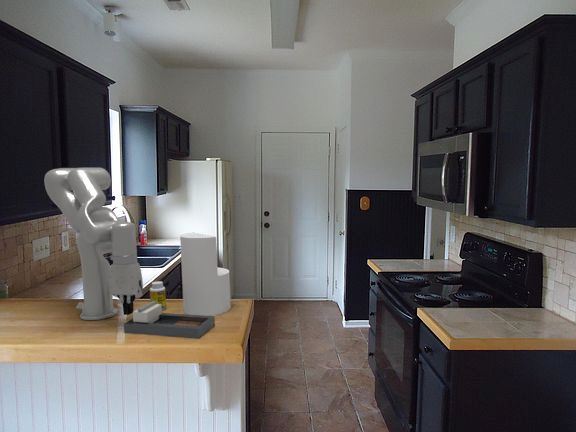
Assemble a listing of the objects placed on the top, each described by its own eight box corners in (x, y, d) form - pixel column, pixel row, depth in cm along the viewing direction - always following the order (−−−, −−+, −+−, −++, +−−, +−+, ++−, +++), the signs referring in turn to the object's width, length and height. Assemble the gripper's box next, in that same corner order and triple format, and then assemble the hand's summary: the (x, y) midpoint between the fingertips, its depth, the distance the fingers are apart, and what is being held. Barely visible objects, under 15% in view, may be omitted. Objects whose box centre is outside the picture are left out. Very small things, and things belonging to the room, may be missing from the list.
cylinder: (197, 319, 149) (193, 239, 146) (175, 308, 162) (172, 234, 159) (239, 308, 160) (236, 234, 157) (215, 299, 173) (213, 230, 170)
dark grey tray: (124, 332, 138) (123, 323, 137) (145, 320, 149) (144, 311, 149) (198, 338, 131) (198, 328, 131) (214, 324, 143) (214, 316, 143)
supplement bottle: (158, 312, 158) (157, 285, 157) (147, 310, 160) (146, 283, 159) (169, 308, 162) (168, 281, 161) (158, 306, 165) (157, 280, 164)
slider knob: (133, 326, 138) (132, 308, 138) (149, 317, 147) (148, 300, 146) (147, 327, 137) (146, 309, 137) (162, 317, 146) (161, 301, 145)
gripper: (98, 261, 140) (101, 316, 142) (138, 262, 136) (141, 318, 138) (112, 257, 147) (116, 309, 149) (151, 258, 144) (154, 311, 145)
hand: (128, 313), depth 144 cm, fingers closed
